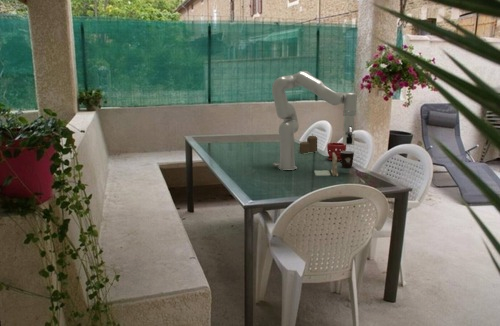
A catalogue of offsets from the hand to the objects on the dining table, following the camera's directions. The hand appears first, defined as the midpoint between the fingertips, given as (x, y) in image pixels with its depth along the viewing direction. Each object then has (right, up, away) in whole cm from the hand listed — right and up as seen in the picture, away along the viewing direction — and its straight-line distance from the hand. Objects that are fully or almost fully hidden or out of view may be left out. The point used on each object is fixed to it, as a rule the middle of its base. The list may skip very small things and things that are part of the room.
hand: (348, 142), depth 259 cm
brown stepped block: (-14, -4, +73) cm, 75 cm away
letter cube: (0, -1, 0) cm, 1 cm away
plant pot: (+1, -11, +43) cm, 44 cm away
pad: (-15, -19, +5) cm, 25 cm away
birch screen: (-8, -19, +5) cm, 21 cm away
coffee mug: (+3, -15, +22) cm, 27 cm away
